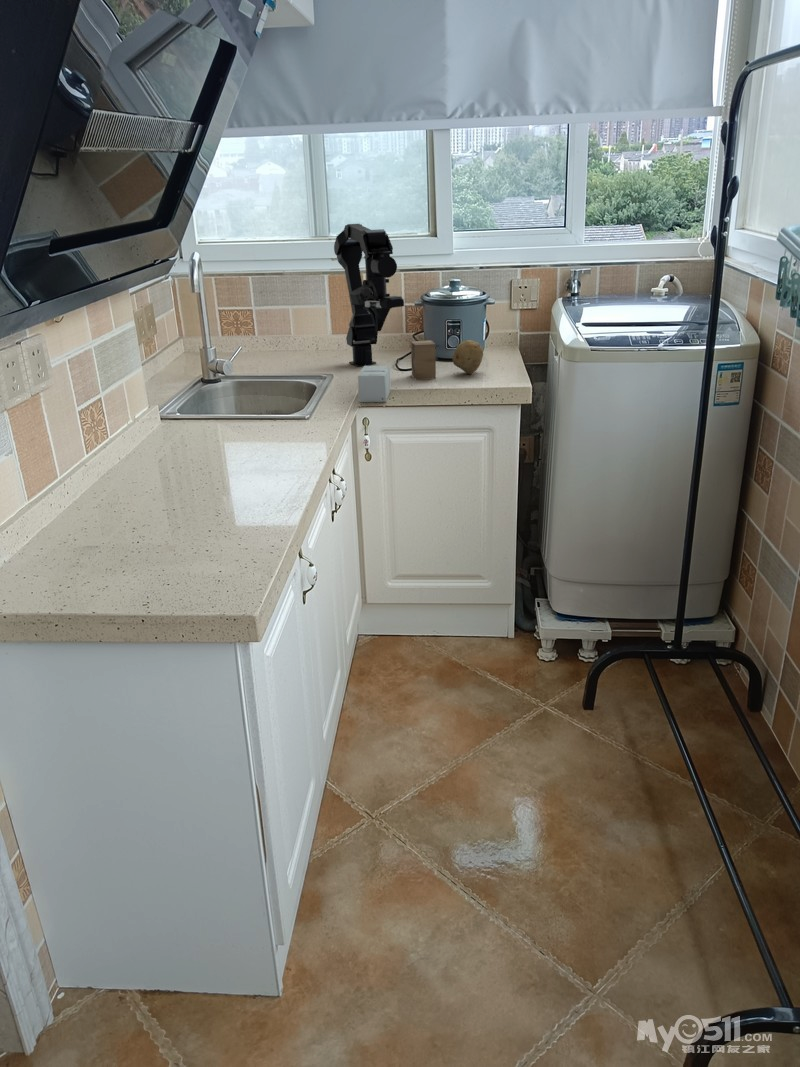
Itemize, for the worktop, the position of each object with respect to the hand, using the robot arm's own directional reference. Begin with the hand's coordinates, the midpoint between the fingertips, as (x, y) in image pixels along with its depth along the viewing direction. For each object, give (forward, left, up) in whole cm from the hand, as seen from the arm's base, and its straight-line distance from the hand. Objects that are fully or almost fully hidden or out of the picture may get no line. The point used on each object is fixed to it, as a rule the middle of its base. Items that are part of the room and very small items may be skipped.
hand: (378, 330), depth 246 cm
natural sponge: (+17, +20, -13) cm, 29 cm away
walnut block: (+11, +8, -13) cm, 19 cm away
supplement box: (+16, -12, -9) cm, 22 cm away
